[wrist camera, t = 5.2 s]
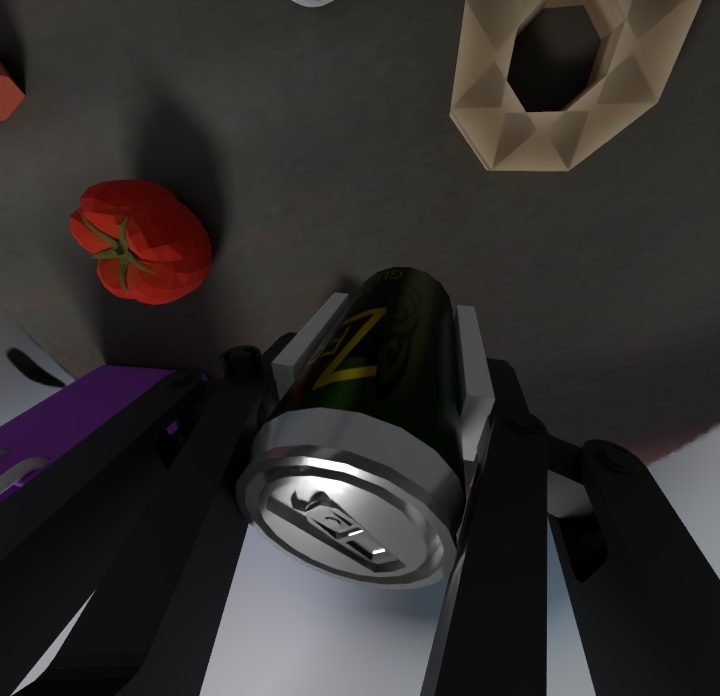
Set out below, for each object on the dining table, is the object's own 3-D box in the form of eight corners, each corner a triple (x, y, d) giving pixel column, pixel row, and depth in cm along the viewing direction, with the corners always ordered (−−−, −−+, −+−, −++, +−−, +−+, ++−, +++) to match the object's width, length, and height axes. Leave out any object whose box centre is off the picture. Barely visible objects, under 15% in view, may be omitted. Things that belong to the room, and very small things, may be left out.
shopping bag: (192, 346, 49) (-64, 522, 24) (249, 436, 59) (108, 628, 34) (95, 364, 59) (-157, 502, 34) (157, 439, 69) (-4, 589, 44)
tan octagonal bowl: (474, -61, 20) (479, -100, 17) (712, -96, 18) (765, -148, 15) (442, 169, 28) (442, 169, 25) (606, 171, 25) (627, 171, 22)
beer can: (473, 313, 15) (532, 580, 5) (401, 365, 18) (350, 602, 8) (404, 239, 14) (312, 399, 4) (338, 307, 17) (192, 497, 7)
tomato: (232, 293, 41) (176, 325, 33) (154, 275, 43) (81, 301, 34) (218, 187, 34) (141, 191, 25) (125, 171, 36) (23, 170, 27)
